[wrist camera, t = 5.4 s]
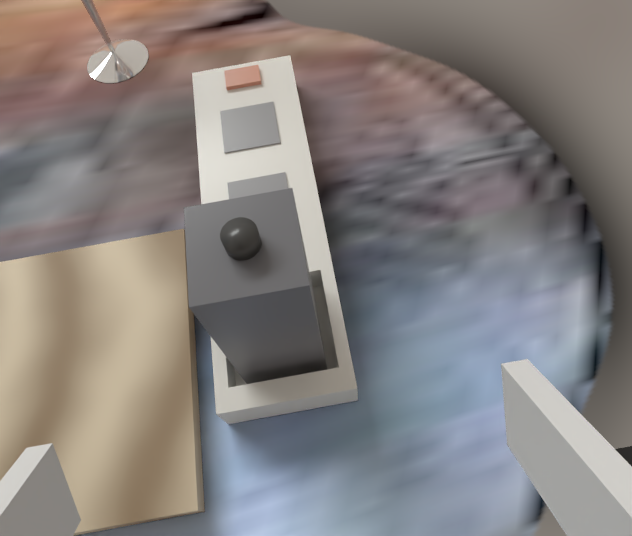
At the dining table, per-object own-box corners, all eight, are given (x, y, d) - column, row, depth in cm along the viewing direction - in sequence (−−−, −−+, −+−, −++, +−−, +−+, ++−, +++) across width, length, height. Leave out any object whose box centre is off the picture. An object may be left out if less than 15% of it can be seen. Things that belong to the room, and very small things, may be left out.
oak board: (-115, 570, 26) (-136, 571, 25) (-58, 283, 33) (-72, 275, 32) (204, 511, 26) (197, 510, 25) (189, 238, 33) (183, 228, 32)
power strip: (228, 424, 28) (214, 413, 25) (202, 99, 39) (191, 69, 36) (357, 400, 28) (357, 386, 25) (294, 82, 39) (289, 51, 36)
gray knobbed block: (247, 384, 28) (182, 298, 18) (239, 310, 30) (177, 195, 20) (327, 369, 28) (307, 275, 18) (314, 296, 30) (289, 175, 20)
